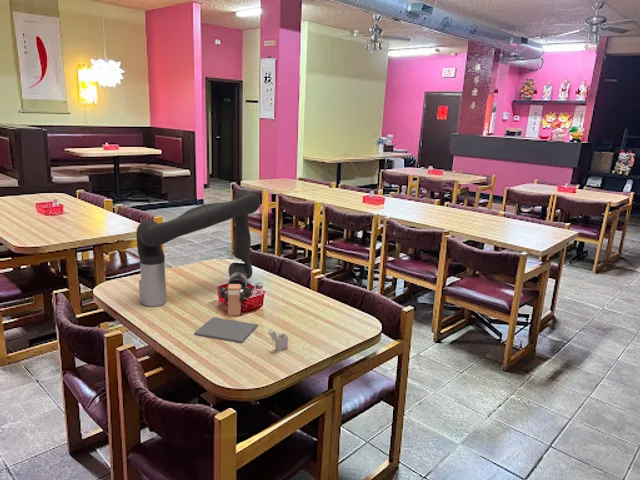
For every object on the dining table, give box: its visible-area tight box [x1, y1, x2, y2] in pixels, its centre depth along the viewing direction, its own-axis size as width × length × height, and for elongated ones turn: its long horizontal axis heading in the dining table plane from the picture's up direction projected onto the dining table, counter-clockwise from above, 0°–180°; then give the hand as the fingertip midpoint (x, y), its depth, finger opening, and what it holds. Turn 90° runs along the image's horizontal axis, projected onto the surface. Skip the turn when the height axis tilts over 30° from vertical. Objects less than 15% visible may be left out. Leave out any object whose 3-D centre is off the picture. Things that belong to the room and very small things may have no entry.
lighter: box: [267, 328, 289, 352], centre depth 160 cm, size 7×2×8 cm, turn 132°
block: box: [227, 284, 242, 316], centre depth 187 cm, size 4×5×11 cm
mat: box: [194, 316, 259, 344], centre depth 173 cm, size 18×14×1 cm
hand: (233, 299), depth 184 cm, fingers closed on block, 4 cm apart
